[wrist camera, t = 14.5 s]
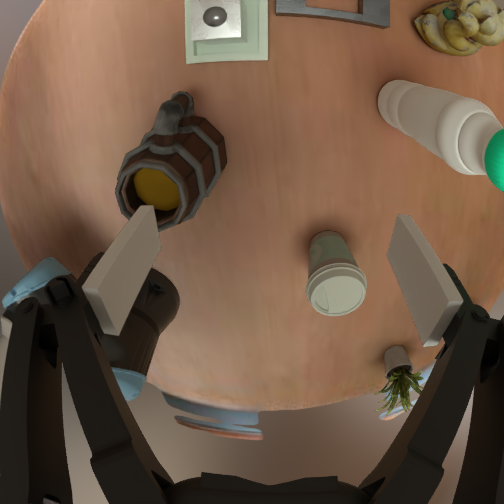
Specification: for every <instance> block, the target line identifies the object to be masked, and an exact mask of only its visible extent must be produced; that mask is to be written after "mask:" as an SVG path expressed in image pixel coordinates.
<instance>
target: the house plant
mask: <svg viewBox="0 0 504 504" xmlns="http://www.w3.org/2000/svg"><path fill="white" fill-rule="evenodd" d="M384 357H385V377H386V378H387V379H389V382H392V381H393V380H394V381H393V383H392V384H391V386H390V387H389V388H388V389H386V390H384V389H385V388H386V387H387V385H388V384H389V382H388V383H387V385H386V386H385V387H384V388H383V389H382V390H381V391H378V392H379V393H384V392H387V391H389V390H390V389H391V388H393V386H394V388H393V390H392V389H391V391H392V393H391V391H390V393H391V394H392V395H391V398H390V400H389V401H388V402H387V404H386V405H385V406H384V407H382V408H381V409H383V408H385V407H386V406H387V405H388V404H389V403H390V401H391V400H392V399H393V400H392V403H391V405H390V408H389V409H388V410H389V412H388V413H387V415H388V414H389V413H390V412H391V411H392V409H393V407H394V405H395V403H396V401H397V397H398V394H400V398H401V401H400V402H401V404H402V406H403V408H404V410H405V411H406V412H407V410H406V407H407V409H408V410H409V409H410V405H411V406H412V404H411V403H410V399H409V391H408V390H409V389H410V386H411V387H412V388H413V389H414V390H415V391H416V392H417V393H419V394H421V392H422V391H421V390H420V389H419V388H418V387H420V388H422V389H423V387H421V386H419V385H418V382H417V381H416V380H422V379H423V377H419V375H420V374H421V372H422V371H420V372H418V373H415V374H411V372H412V370H413V365H412V363H411V361H410V359H409V357H408V355H407V353H406V351H405V349H404V347H403V346H393V347H390V348H389V349H387V350H386V351H385V353H384ZM422 370H423V369H422ZM406 376H408V377H409V378H410V379H411V380H412V381H413V382H414V383H415V384H414V383H413V382H412V381H411V380H410V379H409V378H407V377H406ZM399 389H400V392H399ZM379 393H376V394H379ZM390 393H389V395H390ZM389 395H388V396H387V397H386V398H385V399H384V400H382V401H385V400H386V399H387V398H388V397H389ZM382 401H380V402H382ZM400 402H399V403H400ZM405 405H406V406H405ZM412 407H413V406H412ZM381 409H378V410H376V411H379V410H381ZM387 415H386V416H387Z"/></svg>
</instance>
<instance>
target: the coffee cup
mask: <svg viewBox="0 0 504 504" xmlns="http://www.w3.org/2000/svg"><path fill="white" fill-rule="evenodd" d="M366 289H367V282H366V277H365V275H364V273H363V272H362V271H361V270H360V269H359V267H358V265H357V263H356V261H355V259H354V257H353V256H352V254H351V252H350V250H349V248H348V246H347V244H346V243H345V241H344V239H343V237H342V236H341V235H340V234H339V233H337V232H334V231H323V232H320V233H318V234H317V235H315V236H314V237H313V239H312V240H311V242H310V251H309V274H308V282H307V284H306V295H307V298H308V300H309V302H310V303H311V304H312V306H313V308H314V309H315V310H316V311H318V312H319V313H321V314H323V315H327V316H341V315H345V314H348V313H350V312H352V311H354V310H355V309H356V308H358V307H359V306H360V305H361V303H362V302H363V300H364V298H365V292H366Z"/></svg>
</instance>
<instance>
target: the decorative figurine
mask: <svg viewBox="0 0 504 504" xmlns="http://www.w3.org/2000/svg"><path fill="white" fill-rule="evenodd" d="M422 13H423V14H424V15H420V16H419V17H417V18H416V19H415V20H414V24H415V26H416V28H417V30H418V32H419V33H420V35H421V37H422V38H423V39H424V41H425V42H426V43H427V44H428V45H429V46H430V47H432V48H433V49H435V50H437V51H439V52H442V53H446V54H449V55H454V56H469V55H472V54H474V53H476V52H478V50H479V49H480V48H481V47H482V45H486V46H495V45H497V44H499V43H501V42H502V41H503V40H504V9H503V10H501V9H500V8H499V7H498V6H497V4H496V3H494V2H493V1H492V0H448V1H443V2H440V3H437V4H434V5H432V6H430V7H428V8H427V9H426V10H424V11H423V12H422Z"/></svg>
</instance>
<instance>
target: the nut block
mask: <svg viewBox="0 0 504 504" xmlns="http://www.w3.org/2000/svg"><path fill="white" fill-rule="evenodd" d="M191 35H192V41H195V42H198V43H202V44H206V45H215V44H230V43H248V36H247V7H246V5H245V3H244V1H243V0H191Z"/></svg>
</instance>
